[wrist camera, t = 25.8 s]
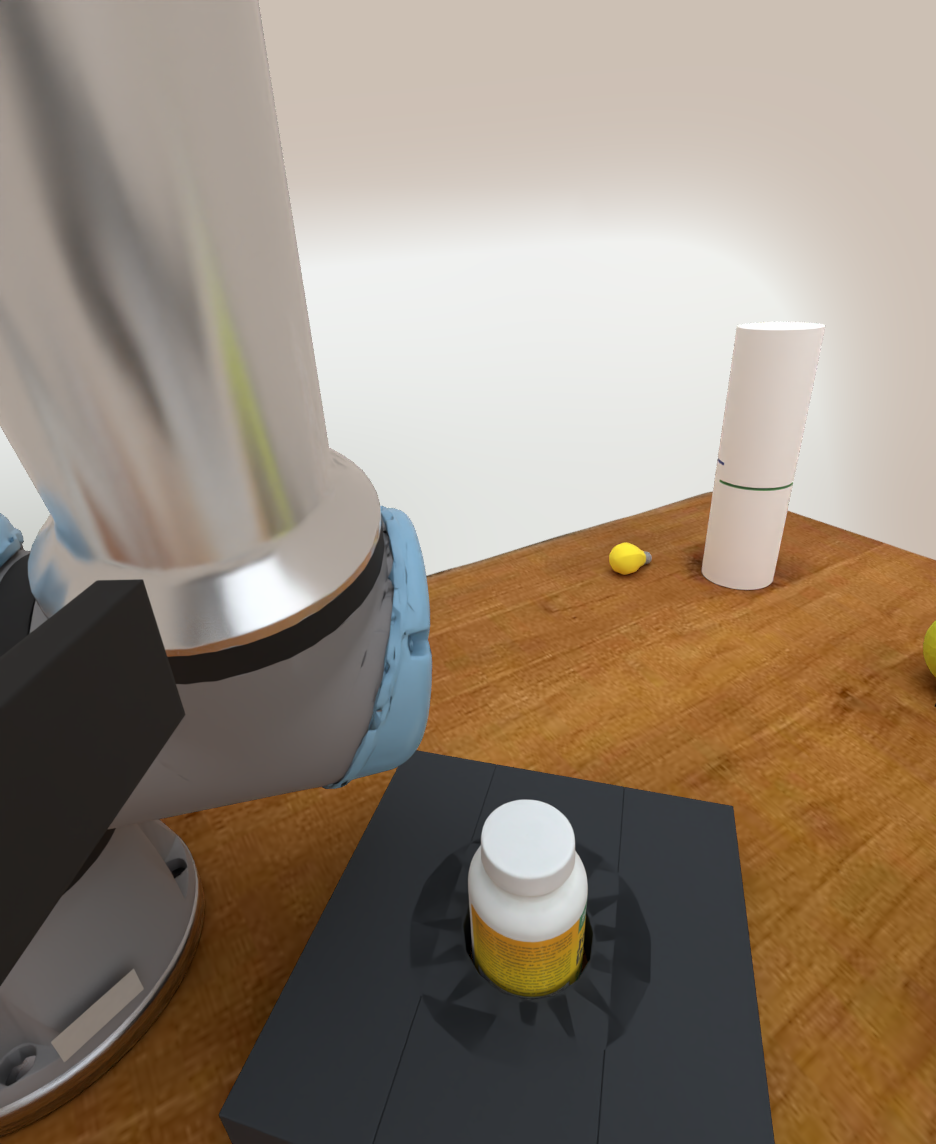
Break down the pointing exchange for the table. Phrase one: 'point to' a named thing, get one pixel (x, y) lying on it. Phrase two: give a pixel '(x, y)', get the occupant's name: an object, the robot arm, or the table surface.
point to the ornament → (930, 648)
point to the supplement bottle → (527, 901)
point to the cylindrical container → (759, 449)
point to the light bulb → (627, 558)
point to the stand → (506, 1022)
